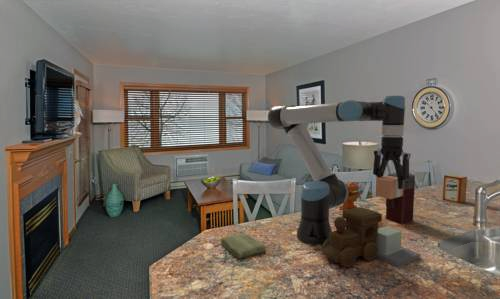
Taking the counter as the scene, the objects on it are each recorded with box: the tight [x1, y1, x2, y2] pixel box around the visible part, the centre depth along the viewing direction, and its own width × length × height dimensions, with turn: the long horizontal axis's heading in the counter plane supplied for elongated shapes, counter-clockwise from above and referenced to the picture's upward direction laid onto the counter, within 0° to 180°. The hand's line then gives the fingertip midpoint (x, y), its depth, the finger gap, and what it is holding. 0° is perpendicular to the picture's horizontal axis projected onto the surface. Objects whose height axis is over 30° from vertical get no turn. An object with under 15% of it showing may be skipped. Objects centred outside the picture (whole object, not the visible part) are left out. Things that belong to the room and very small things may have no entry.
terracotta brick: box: [375, 175, 404, 199], centre depth 113 cm, size 9×6×7 cm, turn 124°
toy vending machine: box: [385, 164, 416, 225], centre depth 142 cm, size 9×11×28 cm
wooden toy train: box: [321, 207, 383, 268], centre depth 104 cm, size 20×11×17 cm, turn 116°
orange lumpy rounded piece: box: [338, 181, 361, 212], centre depth 152 cm, size 11×11×18 cm
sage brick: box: [376, 225, 403, 254], centre depth 108 cm, size 9×6×7 cm, turn 120°
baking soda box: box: [442, 174, 468, 205], centre depth 176 cm, size 10×6×16 cm
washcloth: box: [220, 233, 267, 259], centre depth 114 cm, size 13×18×3 cm
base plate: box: [375, 246, 421, 268], centre depth 108 cm, size 13×18×2 cm
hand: (389, 194), depth 113 cm, fingers closed on terracotta brick, 6 cm apart
